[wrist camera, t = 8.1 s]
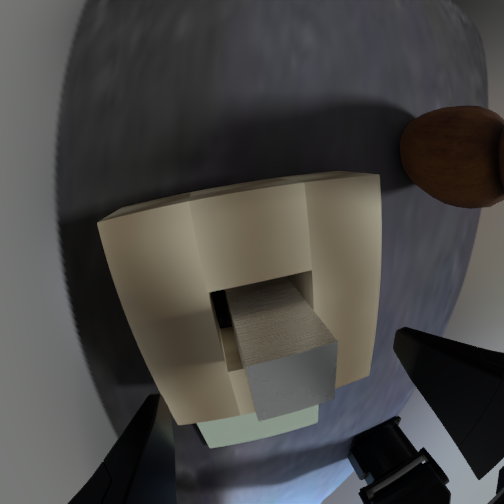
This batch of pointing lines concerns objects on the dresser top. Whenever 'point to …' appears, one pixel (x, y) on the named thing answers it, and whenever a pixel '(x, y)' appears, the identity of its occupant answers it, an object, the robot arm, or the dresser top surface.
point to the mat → (254, 427)
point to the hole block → (244, 276)
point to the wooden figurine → (456, 155)
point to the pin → (282, 347)
